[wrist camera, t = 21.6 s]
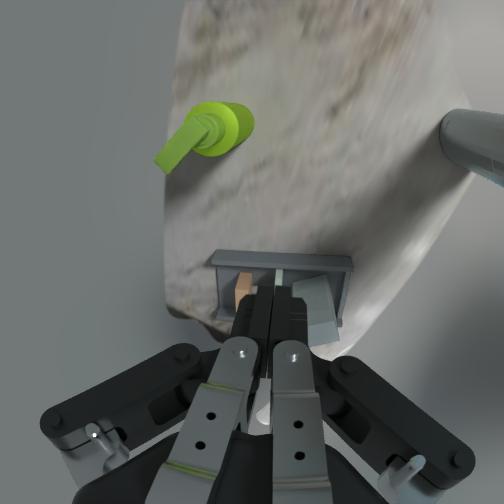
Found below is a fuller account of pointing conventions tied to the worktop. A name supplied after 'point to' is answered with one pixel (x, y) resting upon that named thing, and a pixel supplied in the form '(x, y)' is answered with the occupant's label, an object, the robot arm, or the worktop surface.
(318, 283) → the skincare box
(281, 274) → the pusher
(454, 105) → the worktop surface
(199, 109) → the soap dispenser
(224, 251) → the pusher lane
